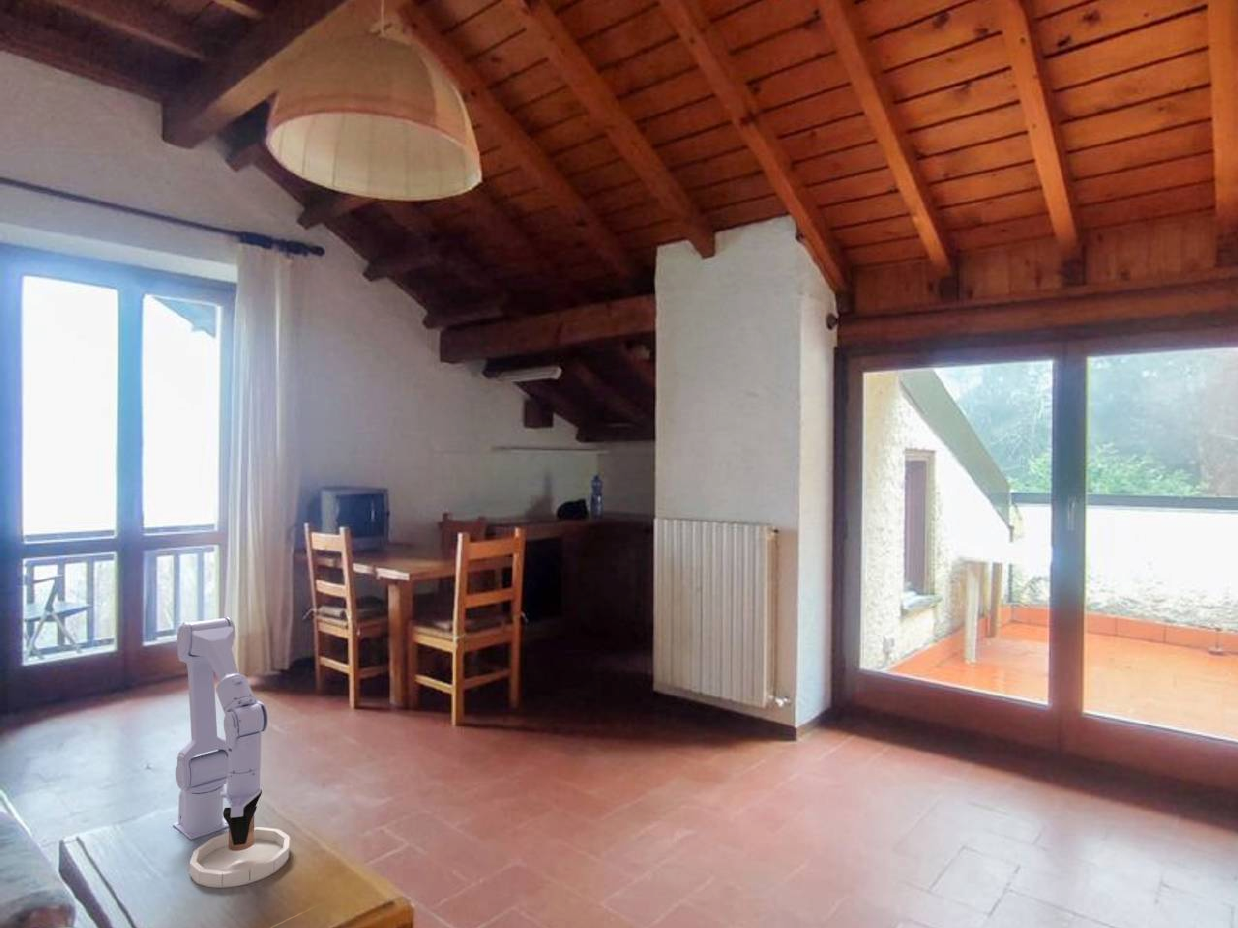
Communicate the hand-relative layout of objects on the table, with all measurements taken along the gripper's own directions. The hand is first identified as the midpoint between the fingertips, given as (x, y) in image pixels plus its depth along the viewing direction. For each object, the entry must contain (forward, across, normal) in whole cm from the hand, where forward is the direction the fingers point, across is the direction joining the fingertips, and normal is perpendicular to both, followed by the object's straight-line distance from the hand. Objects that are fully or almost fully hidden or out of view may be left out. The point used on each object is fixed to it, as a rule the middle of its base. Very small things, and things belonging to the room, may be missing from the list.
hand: (242, 837), depth 141 cm
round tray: (+5, 0, 0) cm, 5 cm away
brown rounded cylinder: (+2, 0, 0) cm, 2 cm away
